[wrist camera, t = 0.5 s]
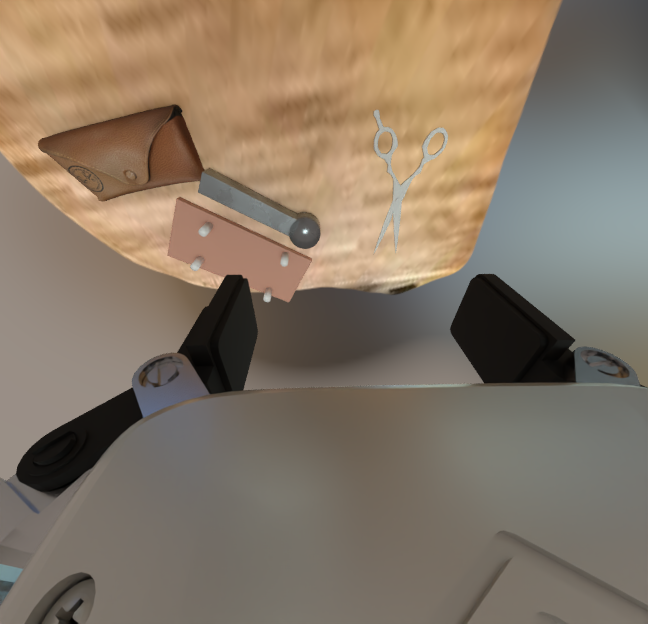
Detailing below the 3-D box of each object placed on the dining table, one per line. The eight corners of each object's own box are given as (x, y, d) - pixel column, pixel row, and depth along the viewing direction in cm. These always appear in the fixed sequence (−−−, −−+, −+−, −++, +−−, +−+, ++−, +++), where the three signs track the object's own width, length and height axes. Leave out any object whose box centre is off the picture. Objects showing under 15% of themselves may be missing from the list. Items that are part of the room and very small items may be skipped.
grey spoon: (203, 193, 36) (196, 199, 34) (211, 160, 34) (203, 163, 32) (311, 245, 42) (311, 253, 40) (324, 221, 40) (325, 227, 37)
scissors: (455, 114, 32) (414, 256, 44) (452, 114, 32) (412, 255, 45) (374, 109, 31) (355, 255, 43) (373, 109, 32) (354, 253, 44)
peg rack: (170, 252, 42) (158, 263, 39) (179, 197, 36) (167, 204, 33) (289, 299, 49) (287, 311, 46) (311, 258, 44) (311, 269, 41)
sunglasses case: (99, 206, 37) (47, 191, 30) (84, 156, 36) (27, 130, 29) (212, 179, 35) (183, 157, 29) (199, 126, 34) (167, 91, 28)
